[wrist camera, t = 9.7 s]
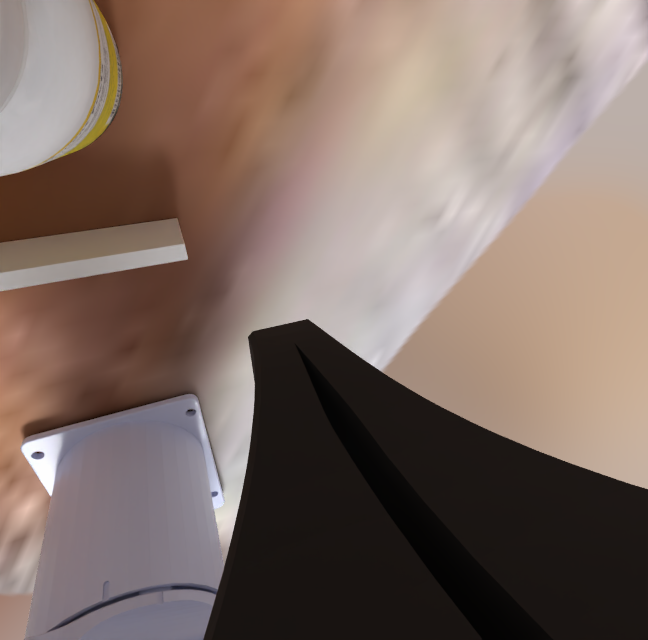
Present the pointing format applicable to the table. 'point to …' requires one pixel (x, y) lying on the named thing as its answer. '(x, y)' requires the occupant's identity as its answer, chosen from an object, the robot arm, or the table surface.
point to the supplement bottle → (54, 80)
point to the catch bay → (89, 253)
